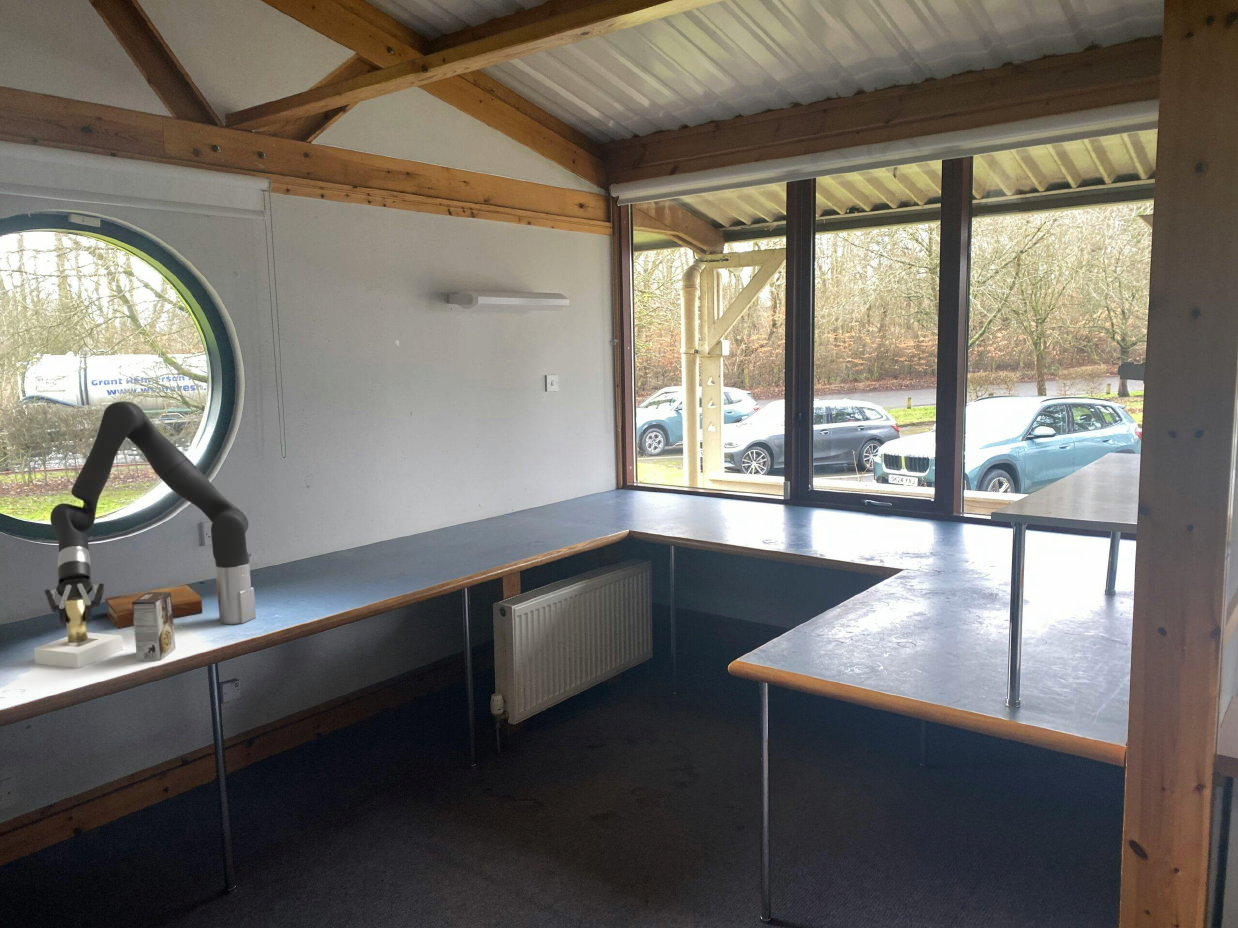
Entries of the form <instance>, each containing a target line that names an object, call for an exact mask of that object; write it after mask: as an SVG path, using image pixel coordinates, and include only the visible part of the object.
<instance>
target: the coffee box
mask: <svg viewBox="0 0 1238 928" xmlns="http://www.w3.org/2000/svg"><path fill="white" fill-rule="evenodd" d="M132 608H133V620H134V626H133V629H134V637H135V638H134V639H135V641H134V642H135V652H136V661H137V662H147V661H148V660H159V661H162V660H163V659H164V658H166V657H167V656H168V655H169V654H171V653H172V652H173V651H174V650H175V649H176V640H175V639H176V638H175V628H174V619H173V614H172V603H171V592H148V593H146V594H144V595H143V596H141V597H139V598H138V599H136V600H135V601H133V602H132ZM165 656H166V657H165ZM148 662H149V661H148Z"/></svg>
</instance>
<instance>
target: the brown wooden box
mask: <svg viewBox="0 0 1238 928" xmlns="http://www.w3.org/2000/svg"><path fill="white" fill-rule="evenodd" d="M148 592H171V603H172V614H173V620H174V619H178V618H183V617H185V618H186V617H188V616H189V617H190V616H193V615H199V614H200V615H201V614H203V603H202V601H203V599H202V597H201V596H200V595H199V594H198V593H196V592H195V591H194V589H191V588H190V587H189V586H188V585H187V584H184V585H178V586H173V587H172V586H171V587H167V588H161V589H153V590H147V591H143V592H136V593H129V594H125V595H123V594H122V595H117V596H112V597H105V603H106V604H107V605H108V610H109V612H106V616H107V617H108V618H109V619H110V621H111V622H112V623H113V624H114V626H115V627H116V629H117V630H119V629H125V628H129V627H134V620H133V608H132V602H133V601H135V600H136V599H138V598H139V597H141V596H143V595H144V594H146V593H148Z"/></svg>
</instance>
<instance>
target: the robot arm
mask: <svg viewBox="0 0 1238 928" xmlns="http://www.w3.org/2000/svg"><path fill="white" fill-rule="evenodd" d="M100 421H101V422H100V424H99V425H100V426H99V428H98V432H97V435H96V437H95V441H94V443H93V445H92V448H91V449H90V453H89V454H88V456H87V458H86V460H85V462H84V464H83V465H82V468H81V470H80V472H79V473H78V476H77V478H76V479H75V480H74V481H75V482H74V483H73V486H72V488H71V495H72V496H73V497H74V498H76V499H78V500H80V501H83V504H82V506H78V505H74V504H70V503H64V502H63V503H62V502H61V503H59V504H57V505H55V506H54V508H52V510H51V512H50V524H51V527H52V530H53V533H54V534H55V538H56V540H57V542H58V558H57V585H56V587H55V588H54V589H51V590H50V589H49V588H48V589H45V590H44V594H45V595H44V596H45V599H46V600H47V603H48V605H49V608H50V609H51V612H52V613H59V617H58V619H59V623H60V624H62V625H63V626H67V625H66V612H65V602H64V601H65V600H67V599H71V598H79V597H81V598H85V620H86V622H87V623H88V622H90V620H92V618H93V613H92V611H93V608H97V607H99V606H100V604H101V601H102V598H103V595H104V592H105V586H104V585H105V584H104V583H99V584H94V583H93V581H92V574H91V571H92V569H91V566H92V564H91V558H90V557H91V556H90V552H89V548H90V547H89V538H88V535H87V534H86V532H88V531H89V530H90V529H91V528H92V527H93V526H94V523H95V519H96V514H97V513H96V512H97V508H98V504H99V503H98V502H99V499H100V496H101V493H102V492H103V490H104V488H105V486H106V484H107V482H108V479H109V477H110V476H111V472H112V469H113V465H114V461H115V459H116V456H117V455H118V451H119V450H120V448H121V445H122V444H123V443H124V441H125V440H126V439H128V440H129V441H131V442H132V444H134V445H135V446H136V447H137V448H138V449H139V450H140V451H141V453H142V454H143V456H144V457H145V459H146V460H147V462H148V464H149V466H150V467H151V468H152V469H153V471H154V472H155V474H156V475H157V476H158V477H159V478H160V480H162V481H163V483H165V485H167V487H168V488H170V489H171V491H173V492H174V493H175V494H177V495H178V496H179V497H181V498H183V499H184V500H186V501H187V502H189V503H191V504H193V505H194V506H196V508H198V509H199V510H200V511H201V512H202V513H203V514H205V515H206V517H207V518H208V519H209V520H210V522H211V528H210V533H211V535H210V536H211V545H212V546H211V547H212V555H213V558H214V560H215V561H214V562H215V573H216V574H215V575H216V578H215V579H216V589H217V591H216V592H217V604H218V616H219V618H218V619H219V624H220V623H221V624H224V625H237V624H245V623H247V622H249V621H252V620H253V619H256V617H257V613H256V612H257V611H256V599H255V588H254V587H253V586H252V583H251V569H250V568H251V567H250V555H249V553H248V550H247V539H246V538H247V537H246V534H247V531H248V529H249V520H248V517H247V516H246V514H245V513H244V512H243V511H242V510H240V509H239V508H238V507H236V506H235V505H234V504H233V503H232V502H231V501H229V500H228V499H227V498H226V497H225V496H224V495H222V494H221V492H219V491H218V489H217V488H216V487H215V486H214V485H213V484H212V482H210V480H209V479H208V478H207V477H206V476H205V475H204V474H203V473H202V471H201V470H200V469H199V468H198V467H197V466H196V465H195V464H194V463H193V461H191V460H190V459H189V458H188V457H187V456H186V455H185V454H184V453H183V452H182V451H181V450H180V449H179V448H178V447H177V446H175V445H174V444H173V443H172V442H171V441H170V440H169V439H168V438H166V437H165V436H164V435H163V434H162V432H160V431H159V429H158V428H157V427H156V426H155V425H154V423H153V422H152V421H151V420H150V418H149V417H148V416H147V415H146V413H145V412H144V411H143V409H142V408H141V407H140V406H139V405H138V404H136V403H134V402H131V401H127V400H125V401H123V400H122V401H115V402H113V403H110V404H109V405H108V406H107V407H106V408H105V409H104V410H103V413H102V417H101V420H100ZM93 590H94V594H95V595H94V599H93V600H90V597H89V596H88V595H89V594H90V593H91V592H92V591H93ZM56 594H58V595H59V596H60V597H61V600H60V603H59V604H56V601H55V600H54V599H55V598H56Z"/></svg>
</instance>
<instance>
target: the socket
mask: <svg viewBox="0 0 1238 928" xmlns="http://www.w3.org/2000/svg"><path fill="white" fill-rule="evenodd" d="M87 634H88V639H87V640H86V641H83V642H78V643H69V642H68V636H65V637H62V638H60V639H57V640H53V641H52V642H48V643H46V644H43V645H41V646H38V647H35V648H33V651H34V661H35V662H34V663H35V665H36V664H38V665H46V666H54V667H55V666H56V667H65V668H72V669H74V668H75V669H80V668H82V667H85V666H88V665H89V664H92V663H94V662H97V661H100V660H102V659H105V658H107V657H110V656H112V655H114V654H117V653H119V652H122V651H123V650H124V647H123V646H124V644H123V637H122V635H118V634H109V633H100V632H99V633H97V632H88V631H87Z"/></svg>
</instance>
